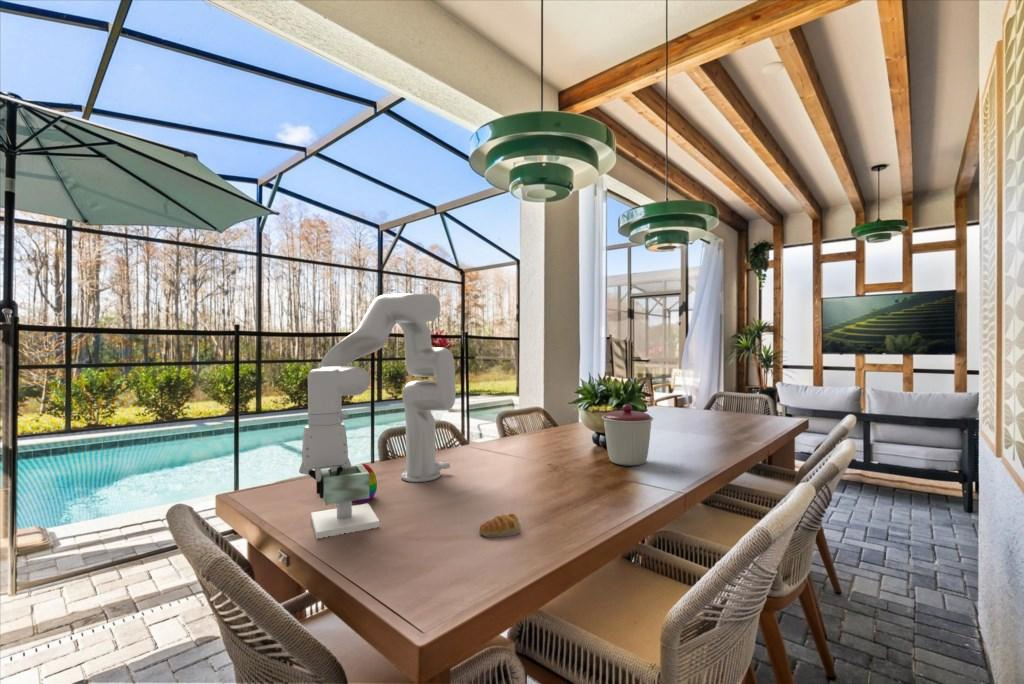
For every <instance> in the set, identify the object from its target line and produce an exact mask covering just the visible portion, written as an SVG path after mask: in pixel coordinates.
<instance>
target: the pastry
mask: <svg viewBox="0 0 1024 684" xmlns="http://www.w3.org/2000/svg"><path fill="white" fill-rule="evenodd" d="M521 531H522V527H521V523H520V521H519V518H518V516H517V515H516V514H515V513H508V514H502V515H496V516H495V517H493V518H492V519H490V520H486V521H485V522H484V523H482V524H480V526H479V529H478V533H479V534H480V535H481V536H484V537H486V538H503V537H509V536H516V535H517V534H520V532H521Z"/></svg>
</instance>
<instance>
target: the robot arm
mask: <svg viewBox="0 0 1024 684" xmlns="http://www.w3.org/2000/svg"><path fill="white" fill-rule="evenodd" d="M441 307H442V306H441V302H440V300H439V298H438V297H437V296H436V295H435V294H433V293H430V292H429V293H390V294H387V293H386V294H381V295H379V296H378V295H377V297H375V298H374V299H373V301H372V302H371V303H370V305H369V307H368V309H367V310H366V312H365V314H364V316H363V318H362V319H361V321H360V322H359V325H358V326H357V328H356V329H355V331H353V332H351V333H350V334H348V335H347V336H346V337H344V338H343V339H342V340H340V341H339V342H338V343H336V344H334V345H333V346H332V347H331V348H330V349H329V350H328V351H327V352H326V354H325V355H324V357H323V358H322V360H321V361H320V363H319V365H318V367H316V368H313V369H311V370H310V371H308V373H307V407H308V408H307V418H308V419H307V420H308V421H307V425H305V426H304V429H303V435H302V446H301V447H302V448H301V449H302V451H301V463H300V467H299V470H298V471H299V474H301V475H305V476H307V475H308V476H309V477H311V478H312V479H314V480H315V481H316V495H319V498H320V499H323V480H322V476H321V468H326V467H330V476H331V477H332V476H338V475H339V474H340V473H341V472H342V471H343V470H345V469H347V468H349V467H351V465H352V464H351V461H350V458H349V449H348V446H349V445H348V437H347V432H346V431H347V430H346V426H345V422H343V421H344V420H345V419H348V418H349V415H348V414H349V413H345V412H343V411H342V397H343V396H348V397H349V396H350V397H351V396H352V397H353V396H359V395H362V394H363V393H365V392H366V391H367V390H368V389H369V387H370V385H371V376H370V374H369V372H368V370H366V369H365V368H363V367H360V366H356V365H349V364H351V363H352V362H355V361H356V360H357V359H359V358H362V357H365V356H367V355H370V354H372V353H374V352H377V351H379V350H381V349H382V348H383V347H384V346H385V344H386V342H387V340H388V337H389V336H390V334H391V333H392V330H393V329H394V326H395V325H396V324H397V325H398V326H399V327H400V328H401V330H402V334H403V336H404V354H405V355H404V356H405V368H406V371H407V374H409V375H410V376H414V377H430V378H432V377H433V378H435V380H421V379H416V380H412V381H409V382H407V383H406V384H405V385H404V387H403V388H402V393H401V395H402V396H401V397H402V398H401V399H402V403H403V408H404V414H405V415H404V416H405V462H406V464H405V471H403V472H402V473H401V479H402V480H403V481H406V482H409V483H410V482H411V483H423V482H431V481H434V480H436V479H438V478H440V476H441V470H443V469H444V470H448V469H450V467H451V463H450V462H448V461H447V462H444V461H440V462H438V461H437V459H436V458H437V457H436V420H435V418H434V416H433V414H432V412H431V411H440V412H442V411H443V412H444V411H448V410H449V411H450V410H451V409H453V406H454V405H455V403H456V396H457V395H456V394H457V393H456V392H457V391H456V368H455V359H454V356H453V353H452V351H450V349H449V348H446V347H441V346H439V347H437V346H436V347H433V345H432V334H431V329H430V327H429V326H428V324H427V322H433V321H435V320H437V318H438V317H439V315H440V313H441V309H442V308H441Z"/></svg>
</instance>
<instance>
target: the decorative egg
mask: <svg viewBox="0 0 1024 684" xmlns="http://www.w3.org/2000/svg"><path fill="white" fill-rule="evenodd" d="M361 464H362V465H363V466H364V468H365V469H366V470H367V471H368V472H369V498H367V499H360V500H354V501H353V502H355V503H364V502H363V501H365V502H369V501H371V500H372V499H373V498H374V496H375V495H376V492H377V489H378V481H377V476H376V474H375V472H374V470H373V469H372V468H371V467H370V466H369V465H368V464H366V463H361ZM370 499H371V500H370ZM368 500H369V501H368Z"/></svg>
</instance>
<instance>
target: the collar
mask: <svg viewBox="0 0 1024 684" xmlns="http://www.w3.org/2000/svg"><path fill="white" fill-rule="evenodd" d="M362 464H363V463H359V464H351V467H349V468H347V469H345V470H343V471H342V472H341V473H340V474H339V475H338V476H332V477H331V476H330V468H326V469H321V476H322V480H323V498H322V501H323V504H324V506H329V505H334V504H337V503H341V502H348V501H352V502H354V500H360V499H367V498H369V472H368V471H367V470H366V469H365V468H364V466H363V465H362Z"/></svg>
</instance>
